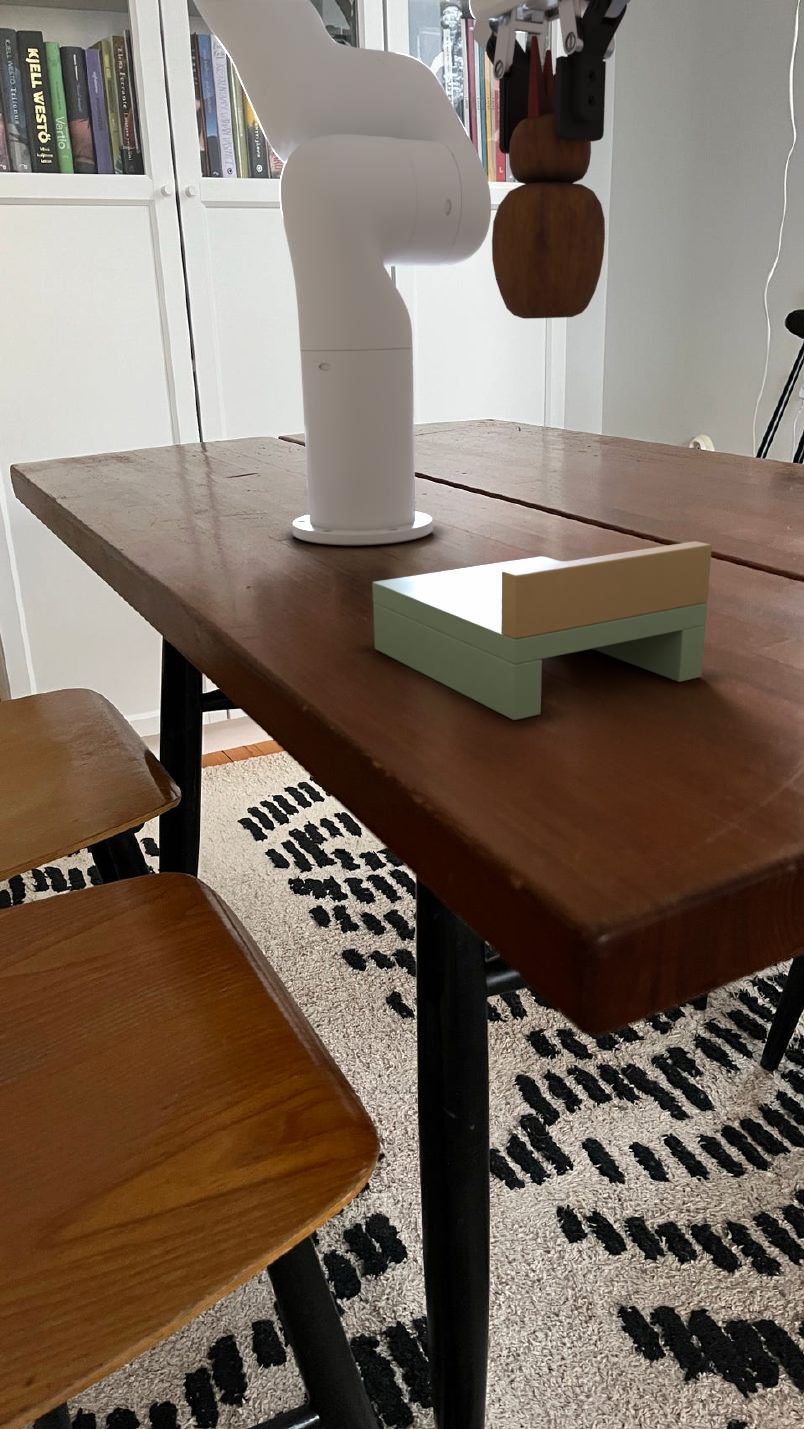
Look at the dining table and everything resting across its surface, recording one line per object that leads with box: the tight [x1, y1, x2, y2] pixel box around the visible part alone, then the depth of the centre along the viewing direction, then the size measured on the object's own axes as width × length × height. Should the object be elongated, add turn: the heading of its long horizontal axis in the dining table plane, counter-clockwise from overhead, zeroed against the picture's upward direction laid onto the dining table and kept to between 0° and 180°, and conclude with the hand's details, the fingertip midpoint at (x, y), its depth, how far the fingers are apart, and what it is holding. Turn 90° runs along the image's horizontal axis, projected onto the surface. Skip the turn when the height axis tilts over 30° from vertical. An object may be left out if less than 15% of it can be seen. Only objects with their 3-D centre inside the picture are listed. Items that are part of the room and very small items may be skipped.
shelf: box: [371, 540, 713, 721], centre depth 57 cm, size 14×12×7 cm
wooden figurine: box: [491, 36, 606, 320], centre depth 64 cm, size 7×6×15 cm
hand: (550, 143), depth 63 cm, fingers closed on wooden figurine, 4 cm apart
